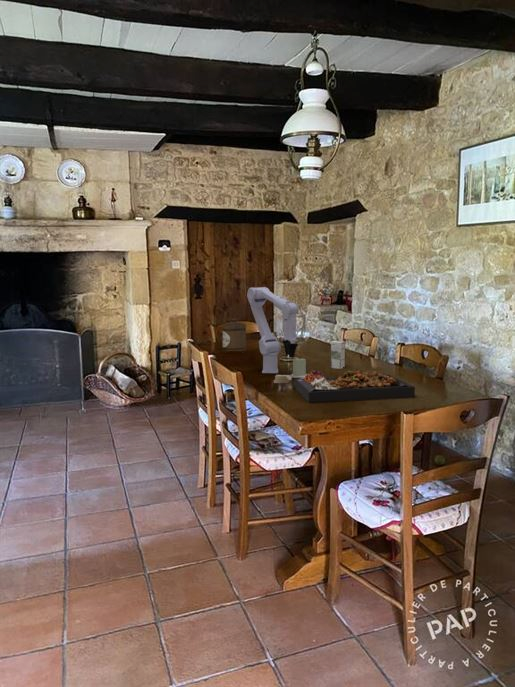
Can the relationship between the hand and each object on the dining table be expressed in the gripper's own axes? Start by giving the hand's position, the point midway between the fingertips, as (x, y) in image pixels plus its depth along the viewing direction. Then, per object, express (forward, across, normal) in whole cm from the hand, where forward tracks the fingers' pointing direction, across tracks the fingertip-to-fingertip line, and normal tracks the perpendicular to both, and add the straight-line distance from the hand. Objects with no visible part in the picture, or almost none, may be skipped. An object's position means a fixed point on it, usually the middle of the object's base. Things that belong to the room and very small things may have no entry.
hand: (289, 356), depth 241 cm
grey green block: (+10, -1, +5) cm, 11 cm away
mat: (+10, -2, +5) cm, 12 cm away
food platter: (+11, +32, +20) cm, 40 cm away
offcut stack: (+11, +10, -6) cm, 16 cm away
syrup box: (+11, -17, +29) cm, 36 cm away
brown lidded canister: (+11, -74, -20) cm, 77 cm away
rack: (+10, +3, -4) cm, 12 cm away
